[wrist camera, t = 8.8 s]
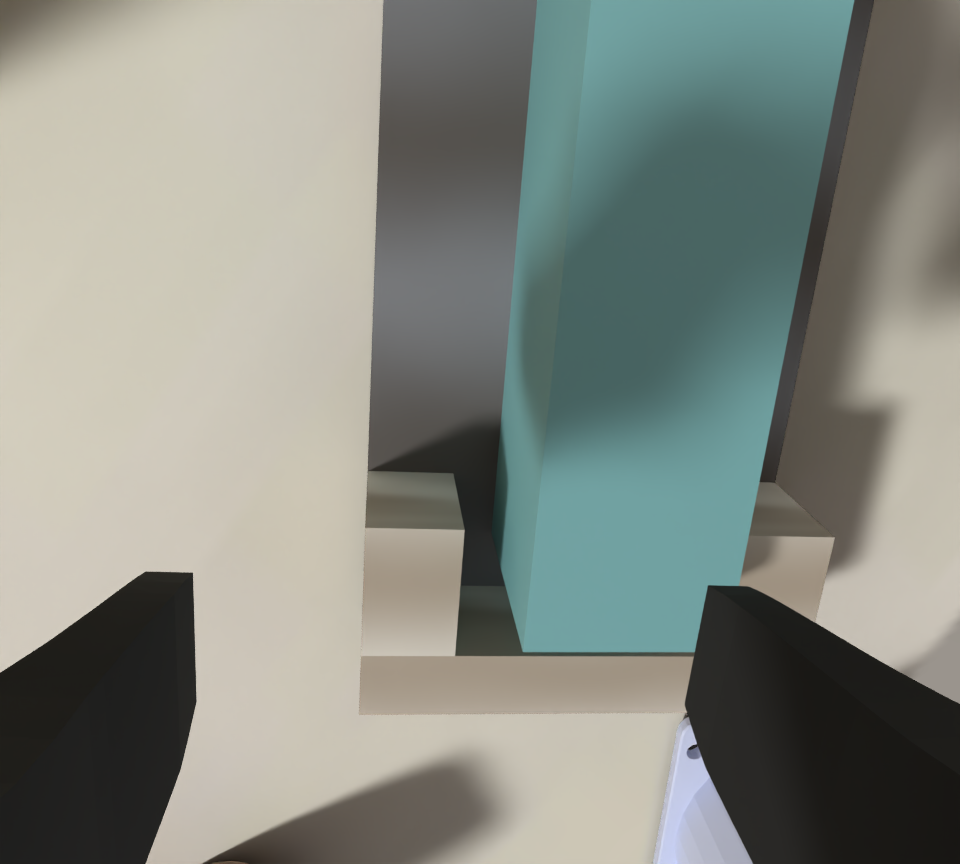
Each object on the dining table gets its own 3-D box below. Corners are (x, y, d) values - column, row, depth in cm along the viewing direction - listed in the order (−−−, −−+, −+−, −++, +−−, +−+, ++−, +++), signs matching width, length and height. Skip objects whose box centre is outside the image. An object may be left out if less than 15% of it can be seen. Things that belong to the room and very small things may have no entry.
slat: (650, 536, 21) (726, 652, 17) (491, 533, 21) (522, 652, 16) (769, -235, 16) (930, -385, 11) (560, -264, 15) (636, -433, 11)
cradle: (728, 618, 23) (794, 712, 20) (362, 615, 22) (359, 714, 18) (926, -384, 16) (1088, -537, 12) (399, -472, 15) (405, -671, 11)
